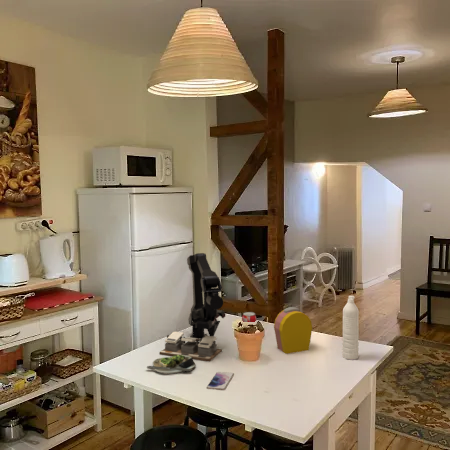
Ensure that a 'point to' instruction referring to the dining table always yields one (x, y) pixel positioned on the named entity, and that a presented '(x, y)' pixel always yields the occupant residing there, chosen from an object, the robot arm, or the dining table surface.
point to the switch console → (191, 350)
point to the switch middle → (189, 339)
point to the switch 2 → (207, 341)
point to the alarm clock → (292, 331)
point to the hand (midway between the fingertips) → (211, 338)
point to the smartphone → (220, 381)
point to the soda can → (249, 317)
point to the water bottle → (350, 330)
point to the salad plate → (173, 364)
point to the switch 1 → (174, 337)
